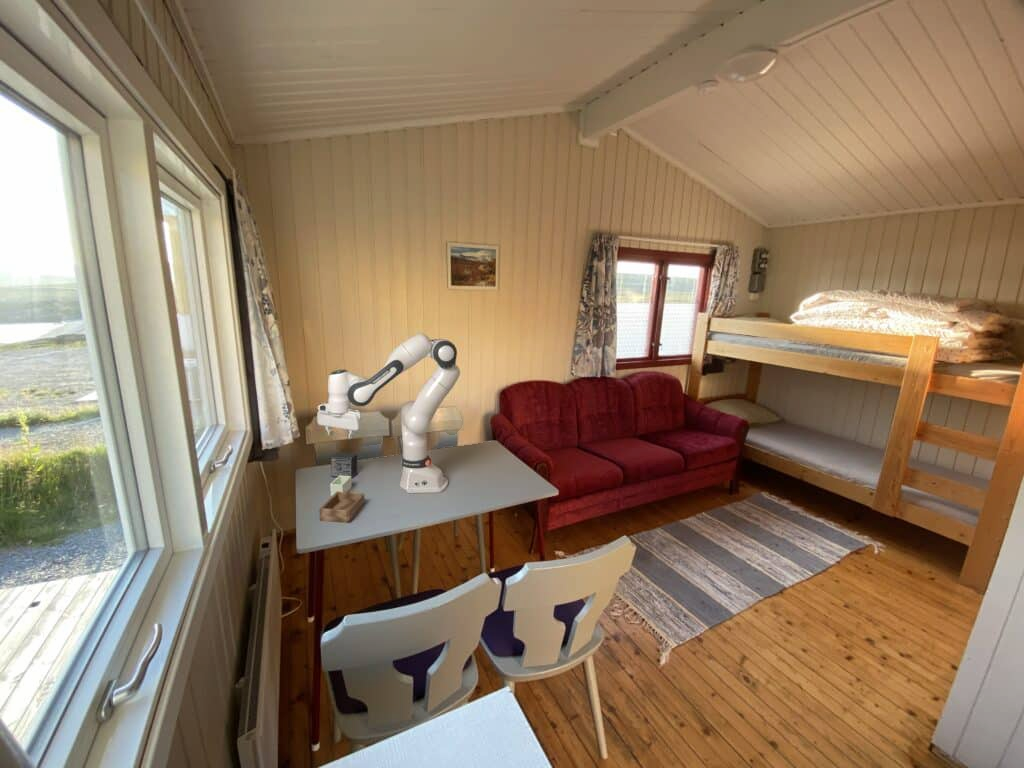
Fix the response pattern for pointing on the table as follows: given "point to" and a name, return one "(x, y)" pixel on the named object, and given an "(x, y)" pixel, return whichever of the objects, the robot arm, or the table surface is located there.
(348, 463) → the small box
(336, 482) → the sage crate
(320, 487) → the table surface
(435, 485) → the robot arm
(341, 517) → the walnut crate
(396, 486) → the table surface
